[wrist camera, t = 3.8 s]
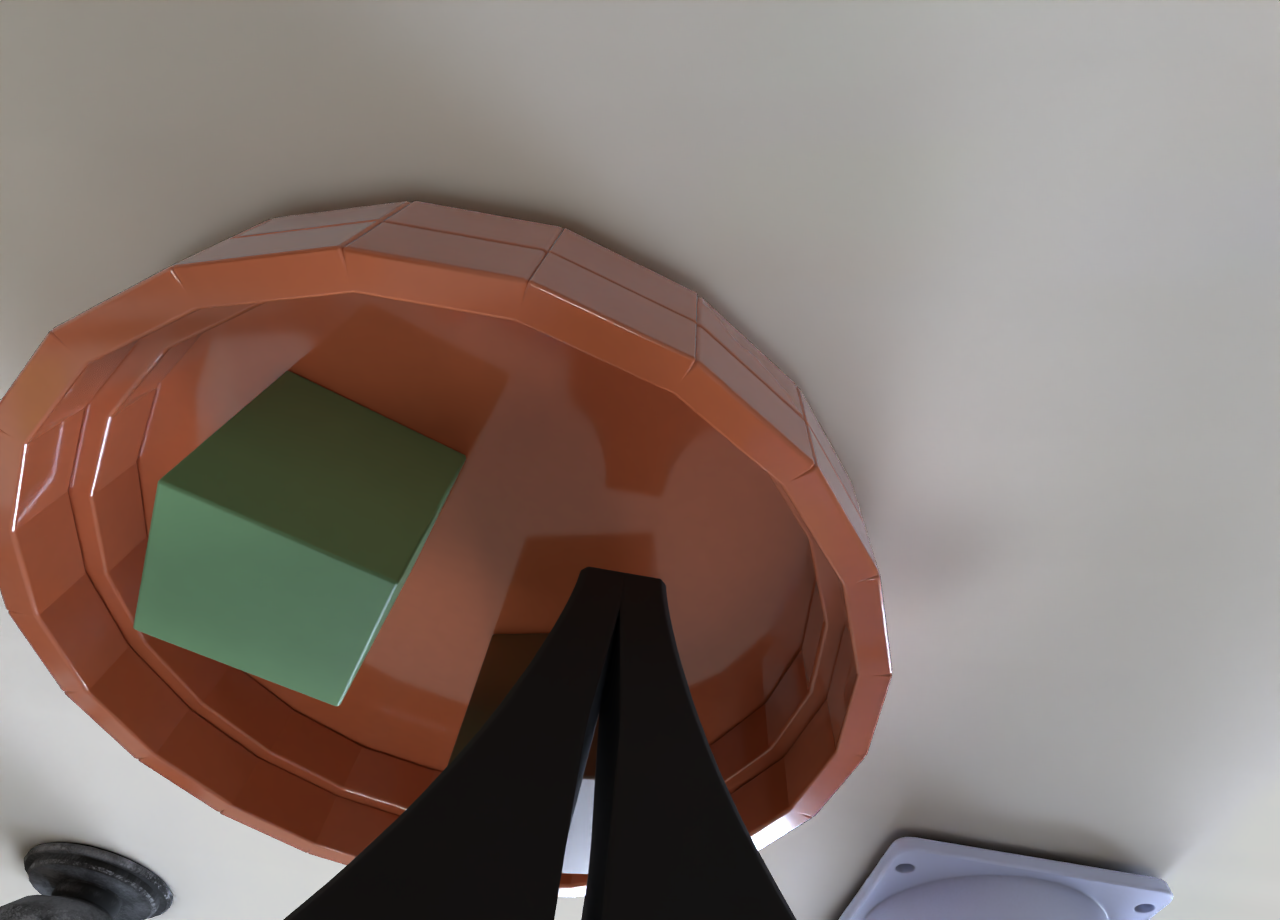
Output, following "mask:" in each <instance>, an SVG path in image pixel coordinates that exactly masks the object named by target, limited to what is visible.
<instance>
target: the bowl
mask: <svg viewBox="0 0 1280 920" xmlns="http://www.w3.org/2000/svg"><path fill="white" fill-rule="evenodd" d="M286 371H290V372H293V373H295V374H297V375H299V376H301V377H303V378H305V379H307V380H309V381H311V382H313V383H316V384H318V385H320V386H322V387H324V388H326V389H328V390H330V391H332V392H334V393H336V394H338V395H341V396H343V397H345V398H347V399H349V400H351V401H353V402H355V403H357V404H359V405H361V406H364V407H366V408H368V409H370V410H372V411H374V412H376V413H378V414H380V415H382V416H384V417H386V418H389V419H391V420H393V421H395V422H397V423H399V424H401V425H403V426H405V427H407V428H409V429H412V430H414V431H416V432H418V433H420V434H422V435H424V436H426V437H428V438H430V439H432V440H434V441H437V442H439V443H441V444H443V445H445V446H447V447H449V448H451V449H453V450H455V451H457V452H460V453H462V454H464V455H465V456H466V460H465V462H464V464H463V466H462V468H461V470H460V472H459V474H458V477H457V479H456V481H455V483H454V485H453V487H452V489H451V491H450V493H449V495H448V497H447V499H446V501H445V503H444V505H443V507H442V509H441V511H440V513H439V515H438V517H437V519H436V521H435V523H434V525H433V527H432V529H431V532H430V534H429V536H428V538H427V540H426V542H425V544H424V546H423V548H422V550H421V552H420V554H419V556H418V558H417V560H416V562H415V564H414V566H413V568H412V570H411V572H410V574H409V576H408V578H407V580H406V582H405V584H404V585H403V587H402V589H401V591H400V593H399V595H398V597H397V599H396V601H395V602H394V604H393V606H392V608H391V610H390V612H389V614H388V616H387V618H386V619H385V621H384V623H383V625H382V627H381V629H380V631H379V633H378V635H377V636H376V638H375V640H374V642H373V644H372V646H371V648H370V650H369V652H368V654H367V655H366V657H365V659H364V661H363V663H362V665H361V667H360V669H359V671H358V672H357V674H356V676H355V678H354V680H353V682H352V684H351V686H350V688H349V689H348V691H347V693H346V695H345V697H344V699H343V701H342V703H341V704H340V705H339V706H334V705H331V704H328V703H326V702H323V701H320V700H318V699H315V698H313V697H310V696H307V695H305V694H302V693H300V692H297V691H294V690H292V689H289V688H286V687H284V686H281V685H279V684H276V683H273V682H271V681H268V680H266V679H263V678H260V677H258V676H255V675H252V674H250V673H247V672H245V671H242V670H239V669H237V668H234V667H232V666H229V665H226V664H224V663H221V662H218V661H216V660H213V659H211V658H208V657H205V656H203V655H200V654H198V653H195V652H192V651H190V650H187V649H184V648H182V647H179V646H177V645H174V644H171V643H169V642H166V641H164V640H161V639H158V638H156V637H153V636H150V635H148V634H145V633H143V632H140V631H137V630H135V629H134V628H133V626H134V620H135V614H136V608H137V602H138V596H139V590H140V584H141V578H142V572H143V567H144V561H145V555H146V549H147V543H148V537H149V531H150V525H151V519H152V513H153V508H154V502H155V496H156V490H157V484H158V481H159V480H160V479H161V478H162V477H163V476H164V475H166V474H167V473H168V472H169V471H170V470H171V469H173V468H174V467H175V466H176V465H177V464H178V463H180V462H181V461H182V460H183V459H184V458H185V457H187V456H188V455H189V454H190V453H191V452H192V451H194V450H195V449H196V448H197V447H198V446H199V445H201V444H202V443H203V442H204V441H205V440H206V439H208V438H209V437H210V436H211V435H212V434H213V433H215V432H216V431H217V430H218V429H219V428H220V427H222V426H223V425H224V424H225V423H226V422H227V421H229V420H230V419H231V418H232V417H233V416H234V415H236V414H237V413H238V412H239V411H240V410H241V409H243V408H244V407H245V406H246V405H247V404H248V403H250V402H251V401H252V400H253V399H254V398H255V397H257V396H258V395H259V394H260V393H261V392H262V391H264V390H265V389H266V388H267V387H268V386H269V385H271V384H272V383H273V382H274V381H275V380H277V379H278V378H279V377H280V376H281V375H282V374H284V373H285V372H286ZM588 566H589V567H595V568H601V569H607V570H612V571H618V572H624V573H630V574H636V575H641V576H647V577H653V578H659V579H661V580H662V581H663V582H664V583H665V585H666V592H667V600H668V607H669V613H670V618H671V623H672V628H673V632H674V636H675V640H676V645H677V649H678V652H679V656H680V660H681V663H682V667H683V670H684V673H685V676H686V680H687V683H688V686H689V689H690V693H691V696H692V699H693V702H694V705H695V708H696V710H697V713H698V716H699V719H700V722H701V724H702V727H703V730H704V732H705V735H706V738H707V740H708V743H709V746H710V748H711V751H712V753H713V755H714V758H715V760H716V763H717V765H718V768H719V770H720V772H721V775H722V777H723V779H724V781H725V784H726V786H727V788H728V790H729V792H730V795H731V797H732V799H733V801H734V803H735V806H736V808H737V810H738V812H739V814H740V816H741V818H742V820H743V822H744V824H745V826H746V828H747V830H748V832H749V834H750V836H751V838H752V840H753V842H754V844H755V846H756V848H757V850H758V851H759V850H761V849H763V848H764V847H766V846H768V845H769V844H771V843H772V842H774V841H776V840H777V839H779V838H781V837H782V836H784V835H785V834H787V833H789V832H790V831H792V830H794V829H795V828H797V827H798V826H800V825H802V824H803V823H805V822H807V821H808V820H810V819H811V818H812V817H813V816H815V815H816V814H817V813H818V812H819V811H820V809H821V808H822V807H823V806H824V805H825V804H826V802H827V801H828V800H829V799H830V798H831V797H832V795H833V794H834V793H835V792H836V791H837V790H838V788H839V787H840V786H841V785H842V784H843V783H844V781H845V780H846V779H847V778H848V777H849V776H850V774H851V773H852V772H853V771H854V770H855V769H856V767H857V766H858V765H859V764H860V763H861V762H862V760H863V759H864V758H865V755H867V753H868V750H869V747H870V743H871V740H872V737H873V734H874V731H875V728H876V725H877V722H878V719H879V716H880V712H881V709H882V706H883V703H884V700H885V697H886V694H887V691H888V688H889V684H890V681H891V678H892V663H891V655H890V647H889V639H888V631H887V623H886V615H885V608H884V600H883V592H882V584H881V576H880V573H879V570H878V566H877V563H876V560H875V557H874V553H873V550H872V547H871V543H870V540H869V537H868V534H867V531H866V528H865V524H864V521H863V517H862V514H861V511H860V508H859V504H858V501H857V498H856V494H855V491H854V488H853V485H852V482H851V480H850V478H849V477H848V475H847V473H846V471H845V469H844V468H843V466H842V464H841V462H840V460H839V458H838V457H837V455H836V453H835V451H834V449H833V448H832V446H831V444H830V442H829V440H828V439H827V437H826V435H825V433H824V431H823V430H822V428H821V426H820V424H819V422H818V421H817V419H816V417H815V415H814V413H813V412H812V410H811V408H810V406H809V404H808V402H807V401H806V399H805V397H804V395H803V393H802V392H801V390H800V389H799V388H798V387H796V385H795V383H794V382H793V381H792V380H791V379H790V378H789V377H788V376H787V375H785V374H784V373H783V372H782V371H781V370H780V369H779V368H778V367H777V366H776V365H775V364H774V363H772V362H771V361H770V360H769V359H768V358H767V357H766V356H765V355H764V354H763V353H762V352H761V351H759V350H758V349H757V348H756V347H755V346H754V345H753V344H752V343H751V342H750V341H749V340H748V339H746V338H745V337H744V336H743V335H742V334H741V333H740V332H739V331H738V330H737V329H736V328H735V327H733V326H732V325H731V324H730V323H729V322H728V321H727V320H726V319H725V318H724V317H723V316H721V315H720V314H719V313H718V312H717V311H716V310H715V309H714V308H713V307H712V306H711V305H710V304H708V303H707V302H706V301H705V300H704V299H703V298H701V297H698V294H697V293H696V292H694V291H692V290H690V289H688V288H686V287H684V286H682V285H680V284H678V283H676V282H674V281H672V280H670V279H668V278H666V277H664V276H662V275H660V274H658V273H656V272H653V271H651V270H649V269H647V268H645V267H643V266H641V265H639V264H637V263H635V262H633V261H631V260H629V259H627V258H625V257H623V256H621V255H619V254H617V253H615V252H613V251H611V250H609V249H607V248H605V247H603V246H601V245H599V244H597V243H595V242H593V241H591V240H589V239H587V238H585V237H583V236H580V235H578V234H576V233H574V232H572V231H570V230H568V229H566V228H564V229H563V230H562V228H561V227H559V226H553V225H548V224H542V223H537V222H531V221H526V220H520V219H514V218H509V217H503V216H498V215H492V214H487V213H481V212H476V211H470V210H464V209H459V208H453V207H448V206H442V205H437V204H431V203H426V202H420V201H413V202H411V203H410V202H406V201H403V202H395V203H387V204H379V205H371V206H363V207H355V208H347V209H339V210H331V211H323V212H315V213H308V214H300V215H292V216H284V217H276V218H274V219H268V220H266V221H264V222H262V223H260V224H257V225H255V226H253V227H251V228H249V229H247V230H245V231H243V232H241V233H239V234H236V235H234V236H232V237H230V238H228V239H226V240H224V241H222V242H220V243H217V244H215V245H213V246H211V247H209V248H207V249H205V250H203V251H201V252H198V253H196V254H194V255H192V256H190V257H188V258H186V259H184V260H182V261H180V262H177V263H175V264H173V265H171V266H169V267H167V268H165V269H163V270H161V271H160V272H158V273H156V274H154V275H152V276H150V277H148V278H146V279H145V280H143V281H141V282H139V283H137V284H135V285H133V286H131V287H129V288H128V289H126V290H124V291H122V292H120V293H118V294H116V295H114V296H112V297H111V298H109V299H107V300H105V301H103V302H101V303H99V304H97V305H95V306H94V307H92V308H90V309H88V310H86V311H84V312H82V313H80V314H79V315H77V316H75V317H73V318H71V319H69V320H67V321H65V322H63V323H62V324H60V325H58V326H56V327H54V328H53V330H51V331H49V333H48V334H47V335H46V337H45V338H44V340H43V341H42V343H41V344H40V345H39V347H38V348H37V350H36V351H35V353H34V354H33V355H32V357H31V358H30V360H29V361H28V363H27V364H26V365H25V367H24V368H23V370H22V371H21V373H20V374H19V375H18V377H17V378H16V380H15V381H14V383H13V384H12V385H11V387H10V388H9V390H8V391H7V393H6V394H5V395H4V397H3V398H2V400H1V401H0V591H1V595H2V598H3V601H4V604H5V607H6V609H7V610H9V611H8V613H9V615H10V616H11V618H12V619H13V621H14V622H15V623H16V625H17V626H18V628H19V629H20V631H21V632H22V633H23V635H24V636H25V638H26V639H27V641H28V642H29V644H30V645H31V646H32V648H33V649H34V651H35V652H36V654H37V655H38V656H39V658H40V659H41V661H42V662H43V664H44V665H45V666H46V668H47V669H48V671H49V672H50V674H51V675H52V676H53V678H54V679H55V681H56V682H57V684H58V685H59V687H60V688H61V689H62V690H63V691H65V692H64V693H65V694H66V695H67V696H68V697H69V698H70V699H71V700H72V701H73V702H74V703H76V704H77V705H78V706H79V707H80V708H81V709H82V710H83V711H84V712H85V713H86V714H87V715H89V716H90V717H91V718H92V719H93V720H94V721H95V722H96V723H97V724H98V725H99V726H101V727H102V728H103V729H104V730H105V731H106V732H107V733H108V734H109V735H110V736H111V737H113V738H114V739H115V740H116V741H117V742H118V743H119V744H120V745H121V746H122V747H123V748H124V749H126V750H127V751H128V752H129V753H130V754H131V755H132V756H133V757H134V758H136V759H138V760H139V761H140V762H142V763H143V764H145V765H146V766H148V767H149V768H151V769H152V770H154V771H156V772H157V773H159V774H160V775H162V776H163V777H165V778H166V779H168V780H170V781H171V782H173V783H174V784H176V785H177V786H179V787H180V788H182V789H184V790H185V791H187V792H188V793H190V794H191V795H193V796H194V797H196V798H197V799H199V800H201V801H202V802H204V803H205V804H207V805H208V806H210V807H211V808H213V809H215V810H216V811H218V812H220V813H221V814H222V815H225V816H227V817H229V818H231V819H233V820H236V821H238V822H240V823H242V824H244V825H247V826H249V827H251V828H253V829H255V830H258V831H260V832H262V833H264V834H266V835H269V836H271V837H273V838H275V839H277V840H280V841H282V842H284V843H286V844H288V845H291V846H293V847H295V848H297V849H299V850H302V851H304V852H308V853H309V854H312V855H315V856H318V857H322V858H325V859H328V860H332V861H335V862H338V863H342V864H345V865H348V864H349V863H350V862H351V861H352V860H353V859H354V858H355V857H357V856H358V855H359V854H360V853H361V852H362V851H363V850H364V849H365V848H366V847H367V846H368V845H369V844H370V843H372V842H373V841H374V840H375V839H376V838H377V837H378V836H379V835H380V834H381V833H382V832H383V831H384V830H385V829H386V828H388V827H389V826H390V825H391V824H392V823H393V822H394V821H395V820H396V819H397V818H398V817H399V816H400V815H401V814H402V813H403V812H404V811H405V810H406V809H407V808H408V807H409V806H410V805H411V804H412V803H413V802H414V801H415V800H416V799H417V798H418V797H419V796H420V795H421V794H422V793H423V792H424V791H425V790H426V789H427V788H428V787H429V785H430V784H431V783H432V782H433V781H434V780H435V779H436V778H437V777H438V776H439V775H440V774H441V773H442V772H443V771H444V769H445V768H446V767H447V765H448V762H449V759H450V756H451V753H452V750H453V747H454V745H455V742H456V739H457V736H458V733H459V730H460V727H461V724H462V721H463V718H464V716H465V713H466V710H467V707H468V704H469V701H470V698H471V695H472V692H473V689H474V687H475V684H476V681H477V678H478V675H479V672H480V669H481V666H482V663H483V660H484V658H485V655H486V652H487V649H488V646H489V643H490V640H491V637H492V635H493V634H539V633H550V632H551V630H552V628H553V627H554V625H555V623H556V621H557V620H558V618H559V616H560V614H561V613H562V611H563V609H564V607H565V605H566V604H567V602H568V600H569V598H570V596H571V594H572V591H573V589H574V587H575V585H576V582H577V580H578V577H579V574H580V571H581V570H582V569H584V568H586V567H588ZM587 879H588V874H570V873H562V874H561V880H560V886H559V892H558V897H577V896H579V897H584V896H585V893H586V886H587Z"/></svg>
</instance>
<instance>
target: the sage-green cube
mask: <svg viewBox="0 0 1280 920" xmlns="http://www.w3.org/2000/svg"><path fill="white" fill-rule="evenodd" d="M465 460H466V456H465V455H464V454H462V453H460V452H457V451H455V450H453V449H451V448H449V447H447V446H445V445H443V444H441V443H439V442H437V441H434V440H432V439H430V438H428V437H426V436H424V435H422V434H420V433H418V432H416V431H414V430H412V429H409V428H407V427H405V426H403V425H401V424H399V423H397V422H395V421H393V420H391V419H389V418H386V417H384V416H382V415H380V414H378V413H376V412H374V411H372V410H370V409H368V408H366V407H364V406H361V405H359V404H357V403H355V402H353V401H351V400H349V399H347V398H345V397H343V396H341V395H338V394H336V393H334V392H332V391H330V390H328V389H326V388H324V387H322V386H320V385H318V384H316V383H313V382H311V381H309V380H307V379H305V378H303V377H301V376H299V375H297V374H295V373H293V372H290V371H286V372H285V373H284V374H282V375H281V376H280V377H279V378H278V379H277V380H275V381H274V382H273V383H272V384H271V385H269V386H268V387H267V388H266V389H265V390H264V391H262V392H261V393H260V394H259V395H258V396H257V397H255V398H254V399H253V400H252V401H251V402H250V403H248V404H247V405H246V406H245V407H244V408H243V409H241V410H240V411H239V412H238V413H237V414H236V415H234V416H233V417H232V418H231V419H230V420H229V421H227V422H226V423H225V424H224V425H223V426H222V427H220V428H219V429H218V430H217V431H216V432H215V433H213V434H212V435H211V436H210V437H209V438H208V439H206V440H205V441H204V442H203V443H202V444H201V445H199V446H198V447H197V448H196V449H195V450H194V451H192V452H191V453H190V454H189V455H188V456H187V457H185V458H184V459H183V460H182V461H181V462H180V463H178V464H177V465H176V466H175V467H174V468H173V469H171V470H170V471H169V472H168V473H167V474H166V475H164V476H163V477H162V478H161V479H160V480H159V481H158V484H157V490H156V496H155V502H154V508H153V513H152V519H151V525H150V531H149V537H148V543H147V549H146V555H145V561H144V567H143V572H142V578H141V584H140V590H139V596H138V602H137V608H136V614H135V620H134V626H133V628H134V629H135V630H137V631H140V632H143V633H145V634H148V635H150V636H153V637H156V638H158V639H161V640H164V641H166V642H169V643H171V644H174V645H177V646H179V647H182V648H184V649H187V650H190V651H192V652H195V653H198V654H200V655H203V656H205V657H208V658H211V659H213V660H216V661H218V662H221V663H224V664H226V665H229V666H232V667H234V668H237V669H239V670H242V671H245V672H247V673H250V674H252V675H255V676H258V677H260V678H263V679H266V680H268V681H271V682H273V683H276V684H279V685H281V686H284V687H286V688H289V689H292V690H294V691H297V692H300V693H302V694H305V695H307V696H310V697H313V698H315V699H318V700H320V701H323V702H326V703H328V704H331V705H334V706H339V705H340V704H341V703H342V701H343V699H344V697H345V695H346V693H347V691H348V689H349V688H350V686H351V684H352V682H353V680H354V678H355V676H356V674H357V672H358V671H359V669H360V667H361V665H362V663H363V661H364V659H365V657H366V655H367V654H368V652H369V650H370V648H371V646H372V644H373V642H374V640H375V638H376V636H377V635H378V633H379V631H380V629H381V627H382V625H383V623H384V621H385V619H386V618H387V616H388V614H389V612H390V610H391V608H392V606H393V604H394V602H395V601H396V599H397V597H398V595H399V593H400V591H401V589H402V587H403V585H404V584H405V582H406V580H407V578H408V576H409V574H410V572H411V570H412V568H413V566H414V564H415V562H416V560H417V558H418V556H419V554H420V552H421V550H422V548H423V546H424V544H425V542H426V540H427V538H428V536H429V534H430V532H431V529H432V527H433V525H434V523H435V521H436V519H437V517H438V515H439V513H440V511H441V509H442V507H443V505H444V503H445V501H446V499H447V497H448V495H449V493H450V491H451V489H452V487H453V485H454V483H455V481H456V479H457V477H458V474H459V472H460V470H461V468H462V466H463V464H464V462H465Z"/></svg>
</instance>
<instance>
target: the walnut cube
mask: <svg viewBox="0 0 1280 920" xmlns="http://www.w3.org/2000/svg"><path fill="white" fill-rule="evenodd" d="M548 635H549V633H539V634H493V635H492V637H491V640H490V643H489V646H488V649H487V652H486V655H485V658H484V660H483V663H482V666H481V669H480V672H479V675H478V678H477V681H476V684H475V687H474V689H473V692H472V695H471V698H470V701H469V704H468V707H467V710H466V713H465V716H464V718H463V721H462V724H461V727H460V730H459V733H458V736H457V739H456V742H455V745H454V747H453V750H452V753H451V756H450V759H449V762H448V765H449V764H450V763H451V762H452V761H453V760H454V759H455V758H456V756H457V755H458V754H459V753H460V752H461V751H462V750H463V748H464V747H465V746H466V745H467V744H468V743H469V741H470V740H471V739H472V738H473V737H474V736H475V734H476V733H477V732H478V731H479V730H480V728H481V727H482V726H483V725H484V724H485V722H486V721H487V720H488V719H489V717H490V716H491V715H492V714H493V712H494V711H495V710H496V709H497V707H498V706H499V705H500V704H501V702H502V701H503V699H504V698H505V697H506V695H507V694H508V693H509V691H510V690H511V689H512V687H513V686H514V685H515V683H516V682H517V681H518V679H519V678H520V676H521V675H522V674H523V672H524V671H525V670H526V668H527V667H528V665H529V664H530V662H531V661H532V660H533V658H534V656H535V655H536V653H537V652H538V650H539V649H540V647H541V646H542V644H543V642H544V641H545V639H546V638H547V636H548ZM598 724H599V716H598V720H597V724H596V728H595V732H594V736H593V740H592V744H591V747H590V751H589V755H588V759H587V763H586V767H585V771H584V775H583V779H582V783H581V787H580V791H579V795H578V799H577V803H576V806H575V810H574V814H573V818H572V822H571V826H570V830H569V834H568V838H567V844H566V850H565V856H564V862H563V868H562V873H570V874H588V869H589V859H590V849H591V833H592V818H593V802H594V786H595V770H596V755H597V740H598ZM448 765H447V766H448Z"/></svg>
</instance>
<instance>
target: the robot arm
mask: <svg viewBox="0 0 1280 920" xmlns="http://www.w3.org/2000/svg"><path fill="white" fill-rule="evenodd" d="M598 716H599V724H598V740H597V755H596V770H595V786H594V802H593V818H592V833H591V849H590V859H589V869H588V879H587V886H586V893H585V899H584V906H583V913H582V920H796V918H795V917H794V915H793V913H792V911H791V909H790V908H789V906H788V904H787V902H786V900H785V899H784V897H783V895H782V893H781V891H780V890H779V888H778V886H777V884H776V882H775V881H774V879H773V877H772V875H771V873H770V872H769V870H768V868H767V866H766V864H765V863H764V861H763V859H762V857H761V855H760V854H759V852H758V850H757V848H756V846H755V844H754V842H753V840H752V838H751V836H750V834H749V832H748V830H747V828H746V826H745V824H744V822H743V820H742V818H741V816H740V814H739V812H738V810H737V808H736V806H735V803H734V801H733V799H732V797H731V795H730V792H729V790H728V788H727V786H726V784H725V781H724V779H723V777H722V775H721V772H720V770H719V768H718V765H717V763H716V760H715V758H714V755H713V753H712V751H711V748H710V746H709V743H708V740H707V738H706V735H705V732H704V730H703V727H702V724H701V722H700V719H699V716H698V713H697V710H696V708H695V705H694V702H693V699H692V696H691V693H690V689H689V686H688V683H687V680H686V676H685V673H684V670H683V667H682V663H681V660H680V656H679V652H678V649H677V645H676V640H675V636H674V632H673V628H672V623H671V618H670V613H669V607H668V600H667V592H666V585H665V583H664V582H663V581H662V580H661V579H659V578H653V577H647V576H641V575H636V574H630V573H624V572H618V571H612V570H607V569H601V568H595V567H589V566H588V567H586V568H584V569H582V570H581V571H580V574H579V577H578V580H577V582H576V585H575V587H574V589H573V591H572V594H571V596H570V598H569V600H568V602H567V604H566V605H565V607H564V609H563V611H562V613H561V614H560V616H559V618H558V620H557V621H556V623H555V625H554V627H553V628H552V630H551V632H550V633H549V635H548V636H547V638H546V639H545V641H544V642H543V644H542V646H541V647H540V649H539V650H538V652H537V653H536V655H535V656H534V658H533V660H532V661H531V662H530V664H529V665H528V667H527V668H526V670H525V671H524V672H523V674H522V675H521V676H520V678H519V679H518V681H517V682H516V683H515V685H514V686H513V687H512V689H511V690H510V691H509V693H508V694H507V695H506V697H505V698H504V699H503V701H502V702H501V704H500V705H499V706H498V707H497V709H496V710H495V711H494V712H493V714H492V715H491V716H490V717H489V719H488V720H487V721H486V722H485V724H484V725H483V726H482V727H481V728H480V730H479V731H478V732H477V733H476V734H475V736H474V737H473V738H472V739H471V740H470V741H469V743H468V744H467V745H466V746H465V747H464V748H463V750H462V751H461V752H460V753H459V754H458V755H457V756H456V758H455V759H454V760H453V761H452V762H451V763H450V764H449V765H448V766H447V767H446V768H445V769H444V771H443V772H442V773H441V774H440V775H439V776H438V777H437V778H436V779H435V780H434V781H433V782H432V783H431V784H430V785H429V787H428V788H427V789H426V790H425V791H424V792H423V793H422V794H421V795H420V796H419V797H418V798H417V799H416V800H415V801H414V802H413V803H412V804H411V805H410V806H409V807H408V808H407V809H406V810H405V811H404V812H403V813H402V814H401V815H400V816H399V817H398V818H397V819H396V820H395V821H394V822H393V823H392V824H391V825H390V826H389V827H388V828H386V829H385V830H384V831H383V832H382V833H381V834H380V835H379V836H378V837H377V838H376V839H375V840H374V841H373V842H372V843H370V844H369V845H368V846H367V847H366V848H365V849H364V850H363V851H362V852H361V853H360V854H359V855H358V856H357V857H355V858H354V859H353V860H352V861H351V862H350V863H349V864H348V865H347V866H346V867H345V868H344V869H343V870H341V871H340V872H339V873H338V874H337V875H336V876H335V877H334V878H332V879H331V880H330V881H329V882H328V883H327V884H326V885H324V886H323V887H322V888H321V889H320V890H318V891H317V892H316V893H315V894H314V895H312V896H311V897H310V898H309V899H308V900H306V901H305V902H304V903H303V904H302V905H300V906H299V907H298V908H297V909H296V910H294V911H293V912H292V913H291V914H290V915H289V916H287V917H286V918H285V919H284V920H554V916H555V910H556V904H557V898H558V892H559V886H560V880H561V874H562V868H563V862H564V856H565V850H566V844H567V838H568V834H569V830H570V826H571V822H572V818H573V814H574V810H575V806H576V803H577V799H578V795H579V791H580V787H581V783H582V779H583V775H584V771H585V767H586V763H587V759H588V755H589V751H590V747H591V744H592V740H593V736H594V732H595V728H596V724H597V720H598ZM1172 899H1173V893H1172V892H1171V890H1170V888H1169V886H1168V884H1167V883H1166V882H1165V881H1164V880H1162V879H1159V878H1156V877H1150V876H1144V875H1138V874H1132V873H1126V872H1120V871H1114V870H1108V869H1102V868H1096V867H1090V866H1084V865H1078V864H1072V863H1066V862H1060V861H1054V860H1048V859H1043V858H1037V857H1031V856H1025V855H1019V854H1013V853H1007V852H1001V851H995V850H989V849H983V848H977V847H971V846H965V845H959V844H953V843H947V842H941V841H935V840H929V839H923V838H917V837H902V838H899V839H896V840H895V841H894V842H893V843H892V844H891V845H890V847H889V848H888V850H887V851H886V852H885V854H884V855H883V857H882V858H881V860H880V861H879V862H878V864H877V865H876V867H875V868H874V870H873V871H872V873H871V874H870V875H869V877H868V878H867V880H866V881H865V883H864V884H863V885H862V887H861V888H860V890H859V891H858V893H857V894H856V895H855V897H854V898H853V900H852V901H851V903H850V904H849V905H848V907H847V908H846V910H845V911H844V913H843V914H842V915H841V917H840V918H839V920H1149V919H1150V918H1151V917H1153V916H1154V915H1155V914H1156V913H1158V912H1159V911H1160V910H1161V909H1163V908H1164V907H1165V906H1166V905H1168V904H1169V903H1170V902H1171V901H1172Z"/></svg>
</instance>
